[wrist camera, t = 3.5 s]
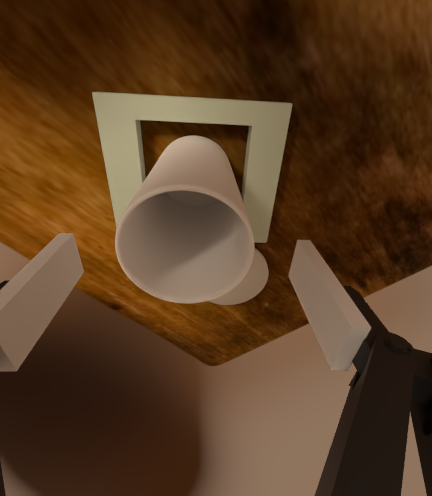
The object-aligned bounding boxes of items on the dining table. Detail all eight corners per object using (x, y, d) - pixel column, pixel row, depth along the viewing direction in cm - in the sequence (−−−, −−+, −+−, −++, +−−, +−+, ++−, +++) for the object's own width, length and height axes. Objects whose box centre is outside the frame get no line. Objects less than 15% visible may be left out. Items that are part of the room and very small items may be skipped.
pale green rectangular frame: (123, 231, 32) (118, 239, 30) (99, 91, 24) (91, 92, 22) (263, 234, 33) (266, 242, 31) (286, 102, 25) (292, 103, 23)
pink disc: (190, 300, 39) (190, 304, 38) (190, 239, 33) (190, 242, 32) (261, 301, 39) (262, 305, 39) (273, 241, 33) (274, 244, 33)
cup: (242, 191, 30) (273, 277, 16) (180, 218, 31) (162, 318, 18) (212, 120, 25) (220, 157, 12) (143, 156, 27) (82, 225, 14)
